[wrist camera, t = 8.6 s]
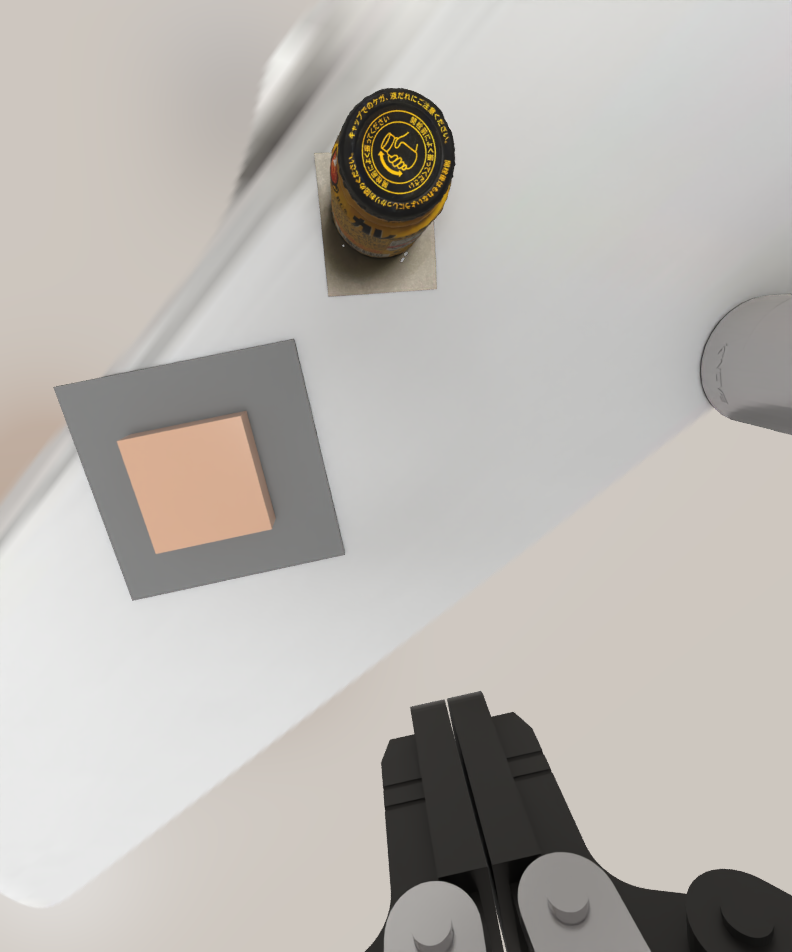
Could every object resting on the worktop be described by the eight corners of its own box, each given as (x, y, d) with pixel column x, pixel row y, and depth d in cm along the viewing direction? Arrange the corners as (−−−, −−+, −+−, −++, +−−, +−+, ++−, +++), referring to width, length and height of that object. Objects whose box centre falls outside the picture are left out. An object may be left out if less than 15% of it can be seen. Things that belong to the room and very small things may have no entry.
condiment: (429, 148, 34) (473, 59, 23) (436, 289, 37) (479, 272, 25) (314, 154, 34) (300, 66, 22) (328, 296, 36) (322, 283, 25)
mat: (293, 339, 37) (293, 339, 36) (344, 552, 41) (344, 554, 41) (56, 386, 36) (53, 387, 36) (134, 598, 40) (132, 600, 40)
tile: (240, 415, 35) (116, 441, 35) (272, 529, 37) (155, 554, 37) (246, 410, 37) (130, 434, 37) (275, 517, 39) (166, 540, 39)
